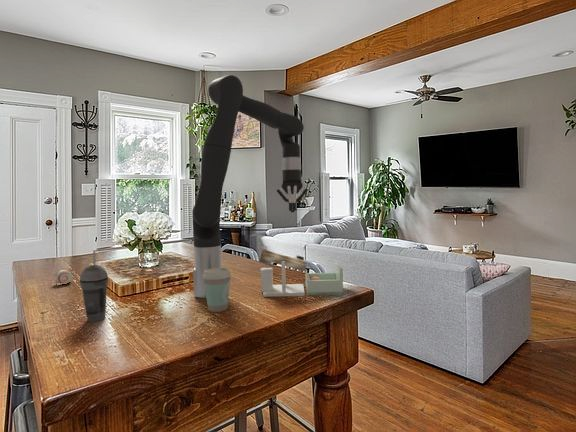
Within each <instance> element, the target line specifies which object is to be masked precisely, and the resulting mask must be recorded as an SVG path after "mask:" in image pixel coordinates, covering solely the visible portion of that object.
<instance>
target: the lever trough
mask: <svg viewBox="0 0 576 432" xmlns="http://www.w3.org/2000/svg"><path fill="white" fill-rule="evenodd" d="M267 248H268V247H267V246H265V245H264V246H263V247H262V251H261V255H260V256H259V257H260V258H259V263H261V264H265V265H269V266H271V263H275V264H277V265H281V261H285V267H288V268H291V269H295V270H297V271H301V272H306V269H307V262H306V261H305V257H303V256H301V255H296V256H295V258H294V257H290V256H287V255H283V254H281V253H277V252H274V251H270V250H267Z"/></svg>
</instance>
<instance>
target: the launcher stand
mask: <svg viewBox="0 0 576 432" xmlns="http://www.w3.org/2000/svg"><path fill="white" fill-rule="evenodd" d="M280 267H281V284H274V281H273V279H274V278H273V277H274V276H273V271H274V270H273V267H261V268H260V271H259V272H260V291H262V292H263V294H262V297H264V298H265V297H266V298H267V297H268V298H269V297H302V296H303V297H304V296H306V295H305V287H304V284H303V283H293V284H291V283H290V284H289V283H286V281H287V279H286V266H285V261H281V266H280Z"/></svg>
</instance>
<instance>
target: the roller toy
mask: <svg viewBox="0 0 576 432" xmlns="http://www.w3.org/2000/svg"><path fill="white" fill-rule="evenodd" d="M53 279H54V284H55V283H66V282H71V281H72V282H73V275H72V273H71V272H70V271H68V270H67V269H66V270H65V269H60V270H58V271H57V272H55V274H54V276H53ZM72 282H71V283H72Z"/></svg>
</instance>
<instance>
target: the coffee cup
mask: <svg viewBox="0 0 576 432" xmlns="http://www.w3.org/2000/svg"><path fill="white" fill-rule="evenodd" d="M231 277H232V274H231V271H230V269H229V268H227V267H222V268H210V269H206V270H204V274H203V277H202V278H204V285H205V292H206V298H205V299H206V304H207V310H208V311H209V312H212V313H220V312H224V311H226V310H228V307H229V306H228V305H229V296H230V282H231V281H230V280H231Z"/></svg>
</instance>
